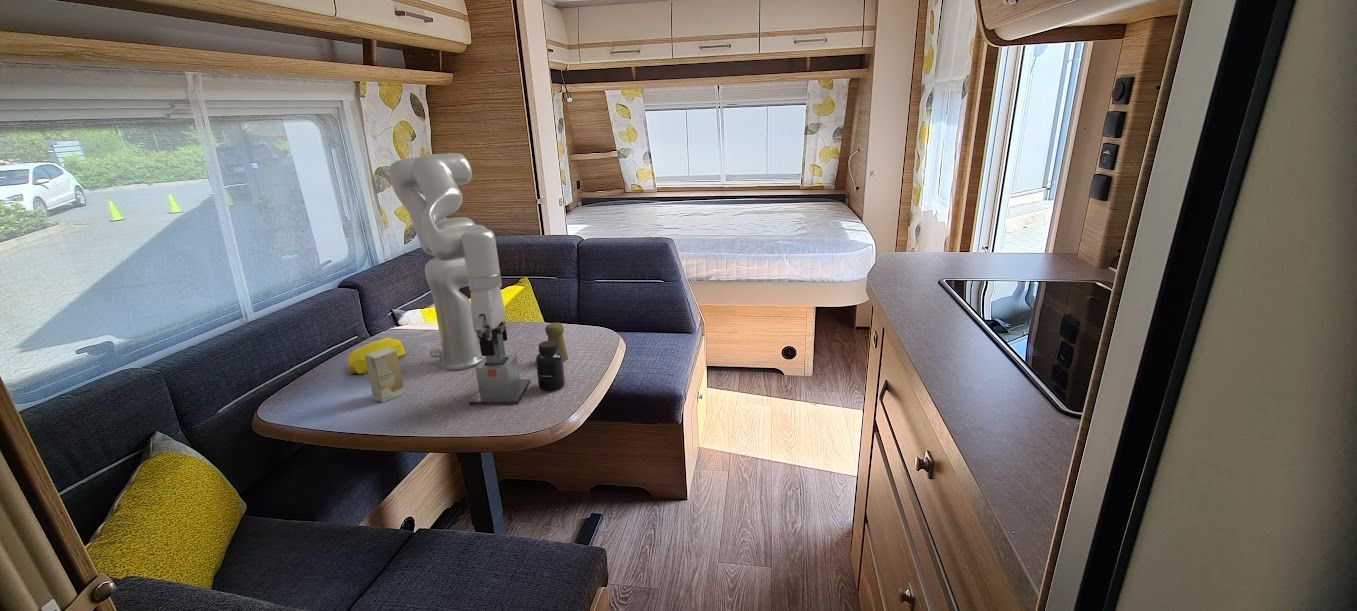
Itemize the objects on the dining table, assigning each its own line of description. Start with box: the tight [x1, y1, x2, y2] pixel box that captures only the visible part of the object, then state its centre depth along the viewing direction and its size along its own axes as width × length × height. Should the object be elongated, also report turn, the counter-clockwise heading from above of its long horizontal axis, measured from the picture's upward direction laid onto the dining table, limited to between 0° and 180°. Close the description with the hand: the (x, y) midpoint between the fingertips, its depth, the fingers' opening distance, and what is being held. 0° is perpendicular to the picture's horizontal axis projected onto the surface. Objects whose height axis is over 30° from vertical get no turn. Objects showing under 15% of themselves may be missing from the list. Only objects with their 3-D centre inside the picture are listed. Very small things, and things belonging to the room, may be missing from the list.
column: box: [483, 324, 507, 366], centre depth 143 cm, size 6×4×17 cm, turn 89°
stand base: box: [468, 354, 531, 406], centre depth 145 cm, size 12×12×9 cm
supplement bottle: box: [535, 340, 566, 393], centre depth 147 cm, size 7×7×12 cm
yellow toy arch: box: [347, 336, 406, 375], centre depth 166 cm, size 18×7×8 cm
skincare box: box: [365, 348, 405, 403], centre depth 145 cm, size 6×4×12 cm
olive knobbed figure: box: [544, 322, 569, 363], centre depth 164 cm, size 6×6×11 cm
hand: (495, 347), depth 142 cm, fingers open, 9 cm apart
